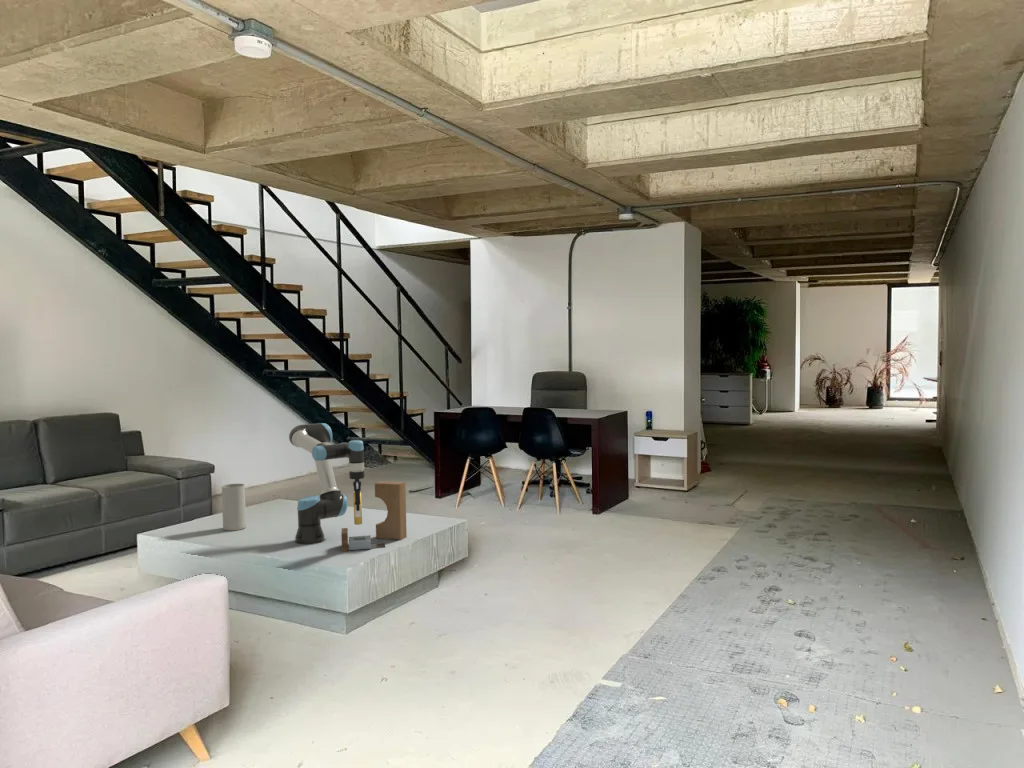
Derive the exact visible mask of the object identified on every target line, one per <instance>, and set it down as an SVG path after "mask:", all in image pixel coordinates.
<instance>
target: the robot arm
mask: <svg viewBox="0 0 1024 768" xmlns="http://www.w3.org/2000/svg"><path fill="white" fill-rule="evenodd" d="M288 438H289V442H290V444H291V445H292V446H294V447H296V448H299V449H303V450H304V451H307V452H308V453H310V454H311V456H312V458H313V460H314V463H315V464H314V465H315V468H316V471H317V472H316V473H317V478H318V483H319V486H320V491H321V492H320V494H319V495H318V494H317V495H315V494H313V495H307V496H304V497H301V498H300V499H298V501H297V509H296V510H297V526H298V527H297V529H296V534H295V536H294V537H295V538H294V539H295V541H294V542H295V543H297V544H302V545H303V544H305V545H306V544H316V543H321V542H323V541H324V540H325V534H324V530H323V527H322V525H321V520H325V519H331V518H332V519H333V518H337V517H343V516H344V515H346V512H347V509H348V498H347V496H346V494H343V493H342V491H341V489H339V488H338V485H337V482H336V477H335V472H334V468H333V463H332V460H336V459H345V458H347V459H348V465H347V467H348V469H349V477H348V478H349V479H350V480H354V481H352V486H353V491H354V493H355V503H354V502H353V506H354V505H355V517H361V505H360V503H361V502H360V492H361V489H362V488H361V486H362V482H361V481H360V480H363V479H365V471H364V470H365V457H364V456H365V454H364V453H365V452H364V451H365V448H364V441H363V440H359V439H357V440H356V439H355V440H350V441H348V442H346V441H345V442H341V443H336V444H331V442H332V441H333V431H332V428H331V426H329V424H327V423H323V422H321V423H320V422H318V423H307V424H299V425H296V426H295V427H293V428H292V429H291V431H290V432H289V434H288Z"/></svg>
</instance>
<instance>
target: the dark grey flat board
mask: <svg viewBox="0 0 1024 768" xmlns="http://www.w3.org/2000/svg"><path fill="white" fill-rule="evenodd" d="M383 548H385V549H386V544H385V543H383V542H382V543H371V549H383ZM348 551H350V550H349V545H348Z"/></svg>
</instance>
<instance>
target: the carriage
mask: <svg viewBox="0 0 1024 768" xmlns="http://www.w3.org/2000/svg"><path fill="white" fill-rule="evenodd" d="M371 544H372V538H371V534H370V535H357V536H355V535H354V536H348V546H349V550H348V551H355V550H356V551H357V550H368V549H369V550H370V549H371V550H372V548H371Z"/></svg>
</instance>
